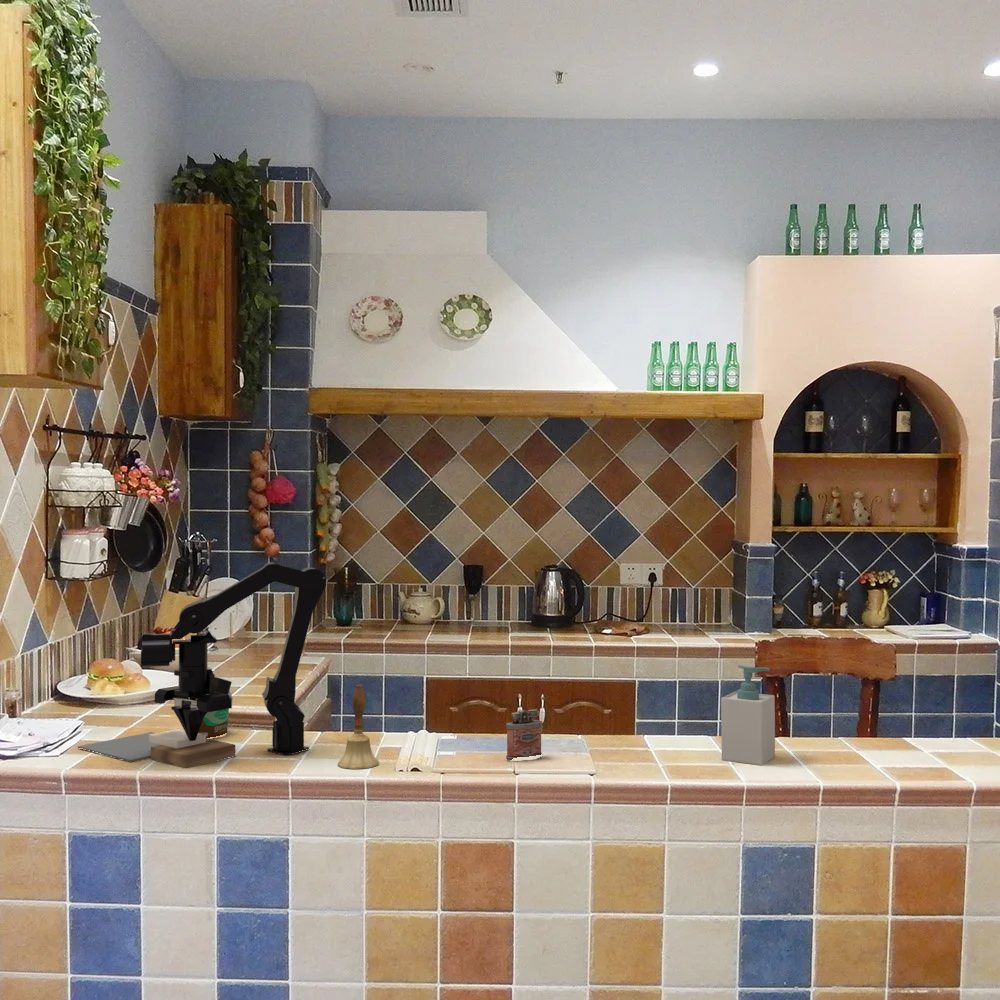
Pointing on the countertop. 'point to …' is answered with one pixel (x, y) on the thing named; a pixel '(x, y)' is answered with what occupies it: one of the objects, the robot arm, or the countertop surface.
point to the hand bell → (358, 739)
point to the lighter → (523, 735)
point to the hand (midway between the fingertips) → (192, 740)
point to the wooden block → (193, 753)
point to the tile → (175, 739)
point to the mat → (124, 747)
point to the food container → (215, 722)
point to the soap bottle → (748, 723)
